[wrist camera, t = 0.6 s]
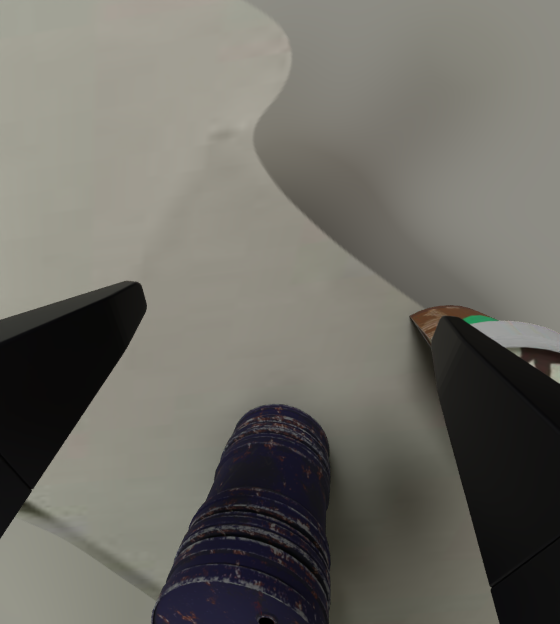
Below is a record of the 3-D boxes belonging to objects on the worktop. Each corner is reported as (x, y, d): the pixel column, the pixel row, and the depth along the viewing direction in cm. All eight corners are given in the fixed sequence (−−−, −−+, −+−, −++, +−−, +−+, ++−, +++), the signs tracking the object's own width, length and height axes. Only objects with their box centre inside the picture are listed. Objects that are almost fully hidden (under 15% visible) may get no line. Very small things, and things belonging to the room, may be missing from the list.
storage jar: (290, 501, 32) (259, 725, 18) (214, 448, 32) (120, 634, 17) (352, 444, 29) (373, 660, 15) (268, 383, 28) (207, 546, 14)
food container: (551, 383, 24) (692, 487, 15) (475, 416, 26) (558, 528, 17) (475, 256, 23) (580, 282, 13) (399, 301, 24) (444, 353, 15)
